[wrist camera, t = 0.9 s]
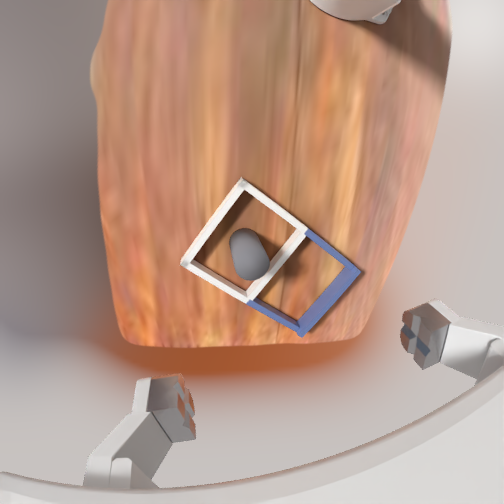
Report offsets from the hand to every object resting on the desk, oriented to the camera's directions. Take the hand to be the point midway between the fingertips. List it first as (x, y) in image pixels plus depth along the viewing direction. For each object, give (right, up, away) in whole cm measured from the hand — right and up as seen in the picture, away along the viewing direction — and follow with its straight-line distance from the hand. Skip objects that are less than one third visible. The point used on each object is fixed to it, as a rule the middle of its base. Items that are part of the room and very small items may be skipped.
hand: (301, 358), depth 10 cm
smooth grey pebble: (-3, +5, +36) cm, 36 cm away
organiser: (+2, +2, +38) cm, 38 cm away
